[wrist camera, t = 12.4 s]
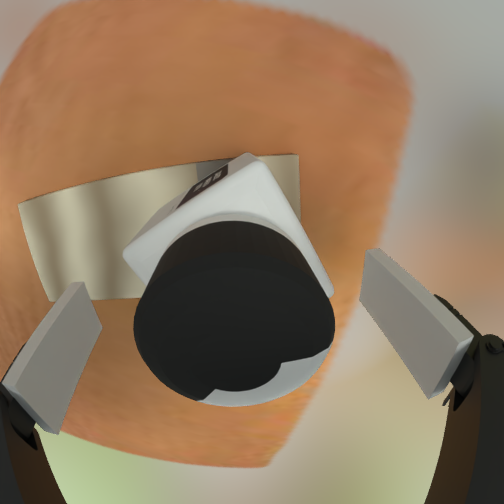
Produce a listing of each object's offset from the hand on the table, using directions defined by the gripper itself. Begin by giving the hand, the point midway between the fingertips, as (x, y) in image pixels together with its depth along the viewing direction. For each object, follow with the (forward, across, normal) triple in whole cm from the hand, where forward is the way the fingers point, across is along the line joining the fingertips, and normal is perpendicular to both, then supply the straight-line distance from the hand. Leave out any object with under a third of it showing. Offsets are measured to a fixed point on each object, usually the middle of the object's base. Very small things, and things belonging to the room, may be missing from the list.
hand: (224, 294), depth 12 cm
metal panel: (+10, -6, 0) cm, 12 cm away
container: (+9, +1, 0) cm, 9 cm away
